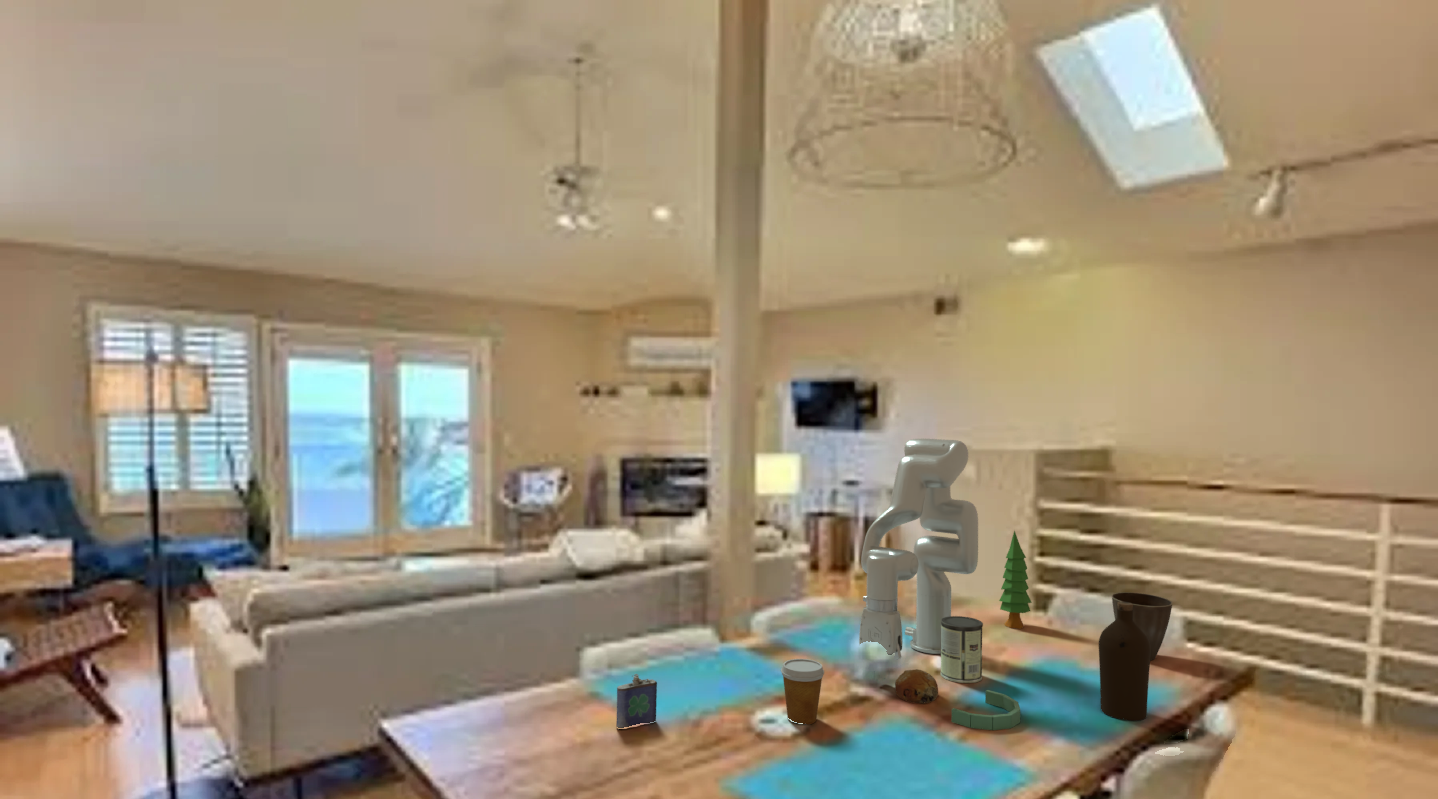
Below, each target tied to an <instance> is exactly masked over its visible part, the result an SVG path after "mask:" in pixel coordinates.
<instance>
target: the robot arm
mask: <svg viewBox="0 0 1438 799" xmlns="http://www.w3.org/2000/svg"><path fill="white" fill-rule="evenodd" d="M903 450H904V452H903V453H904V456H903V457H902V458H900V460H899V461H898V465H897V467H896V474H895V478H894V483H893V487H892V492H891V498H890V503H889V506H888V508H887V509H885V511H883V512H882V513H881V514H880V515H879V516H878V517H877V518H876V519H875V520H874V521H873V523H872V524H870V526H869V527H868V529H867V532H866V533H865V538H864V541H863V547H862V551H861V558H860V561H861V562H860V564H861V568H862V570H863V571H864V572H865V574H866V595H864V596H863V597H862V601H863V602H865V607H863V609H862V612H861V618H860V623H859V625H860V626H859V634H858V635H859V638H858V643H859V645H860V644H861V643H863V642H866V641H868V642H870V641H871V642H878V643H879V644H881V645H882V646H883V647H884V648H885V649H886V650H887V651H886V652H887V654H888V655H892V654H893V653H895V656H894V660H900V659H901V658H902V653H901V651H902V650H903V643H904V642H903V625H902V617H901V614H900V611H899V610H898V596H899V594H898V590H899V587H898V585H899V584H898V583H899V582H901V581H902V582H903V581H910V580H911V579H913V578H914V577H915V576H916V613H915V616H916V617H915V618H916V620H915V621H916V623H915V628H914V627H910V626H906V627H905V630H904V635H905V636H908V637H910V636H911V637H912V639H911V640H910V642H909V645H910V648H912V649H913V650H915V651H917V652H922V653H925V654H931V655H941V619H942V618H945V617H950V616H952V585H951V582H950V580H949V577H947V575H946V573H952V574H953V573H954V574H958V575H959V574H961V575H970V574H972V573H975V571H976V569H977V567H978V562H979V516H978V515H979V514H978V510H977V507H976V506H975V504H974V503H972V502H970V501H968V500H964V499H954V498H952V497H951V486H952V485H953V484H954V483H955V481H956V480H957V479H958V478H959V476H960V475H961V474H962V472H963V471H964V469H966V466H967V463H968V460H969V449H968V447H967V445H966V443H965V442H963V441H961V440H956V439H942V438H941V439H937V438H913V439H910V440H908V441H907V442H905V444H904V448H903ZM918 519H919V523H920V526H921V528H922V529H924V530H926V531H930V532H934V533H943V534H952V535H957V538H956V537H947V536H940V535H938V536H937V535H924V536H920V537H919V538H917V540H915V542H914V545H913V552H912V551H910V550H907V549H906V550H905V549H900V548H899V549H898V548H893V547H892V548H891V547H884V546H880V545H881V541H882V539H883V538H884V536H886V534H887V533H888V532H890V531H892V530H893V529H894V528H897V527H898V526H899V527H900V526H901V525H904V524H907V523H910V522H911V523H912V522H914V521H916V520H918Z"/></svg>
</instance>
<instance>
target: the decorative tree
mask: <svg viewBox="0 0 1438 799" xmlns="http://www.w3.org/2000/svg"><path fill="white" fill-rule="evenodd" d="M1018 539H1019V538H1018V536H1017V533H1016V531H1015V530H1014V531H1013V534H1012V538H1011V542H1010V545H1009V549H1008V552H1007V554H1006V556H1005V559H1006V562H1005V564H1004V571H1003V572H1004V573H1003V576H1002V578H1003V579H1004V581H1003V584H1002V585H1001V590H1003V592H1002V593H1001V596H1000V599H999V600H998V601H999V602H1001V604H1000V608H999V610H1001V611H1004V612H1007V613H1009V614H1008V619H1007V620H1006V621H1005V622H1004V623H1003V625H1004V626H1005V627H1007V628H1009V629H1010V628H1011V629H1018V630H1022V629H1023V628H1024V626H1025V625H1024V623H1023V621H1022V618H1021V614H1026V613H1028V612H1031V608H1030V605H1029V604H1031V603H1032V600H1031V598H1030V597H1029V595H1028V592H1027V591H1028V590H1029V589H1030V588H1029V586H1028V585H1029V584H1028V583H1027V580H1029V577H1028V573H1027V569H1028V567H1027V566H1028V565H1027V564H1026V563H1027V562H1026V561H1025V559H1026V558H1027V557H1026V555H1025V553H1024V551H1023V549H1022V546H1021V544H1020V542H1019V540H1018Z"/></svg>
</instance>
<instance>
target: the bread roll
mask: <svg viewBox="0 0 1438 799" xmlns="http://www.w3.org/2000/svg"><path fill="white" fill-rule="evenodd" d="M894 685H895V686H894V687H895V688H894V691H895V694H896V695H897V697H898V698H900V699H901V700H903V701H905V702H908V703H913V704H929V703H931V702H934V701H935V700H936V699H937V697H938V696H939V688H938V683H937V681H936V679H935V678H934V677H933V675H932V674H931V673H928V672H927V671H925V670H922V669H918V668H915V669H908V670H904V671H903V672H902V673H901V674H900V675H899V676H898V677H897V679H896V680H895V684H894Z"/></svg>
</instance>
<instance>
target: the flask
mask: <svg viewBox="0 0 1438 799" xmlns="http://www.w3.org/2000/svg"><path fill="white" fill-rule="evenodd" d="M639 676H640V675H639V674H638V673H634V674H633V675H631V677H632V678H633V680H632V682H630V683H625V684H621V685H618V686H617V687H616V728H617V727H618V728H624V727H629V726H632V725H636V724H640V723H650V722H654V721H656V722H657V697H658V696H657V693H658V689H657V688H658V682H657V680H654V679H650V678H645V679H641V678H640V677H639Z"/></svg>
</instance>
